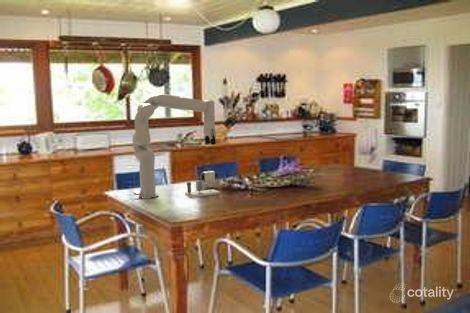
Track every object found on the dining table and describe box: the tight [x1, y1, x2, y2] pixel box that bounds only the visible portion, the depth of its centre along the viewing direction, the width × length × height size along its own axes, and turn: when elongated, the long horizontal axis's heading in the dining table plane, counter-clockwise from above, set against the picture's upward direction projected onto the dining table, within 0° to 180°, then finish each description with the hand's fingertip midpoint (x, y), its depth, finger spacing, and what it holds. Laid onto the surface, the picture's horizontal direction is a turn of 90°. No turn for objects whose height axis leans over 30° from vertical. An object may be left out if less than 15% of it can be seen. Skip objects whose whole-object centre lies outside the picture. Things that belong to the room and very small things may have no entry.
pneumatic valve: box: [199, 169, 218, 188], centre depth 349 cm, size 6×12×12 cm, turn 113°
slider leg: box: [195, 180, 204, 192], centre depth 323 cm, size 3×3×7 cm
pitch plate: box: [184, 181, 221, 199], centre depth 323 cm, size 20×10×9 cm, turn 116°
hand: (210, 143), depth 338 cm, fingers open, 9 cm apart
